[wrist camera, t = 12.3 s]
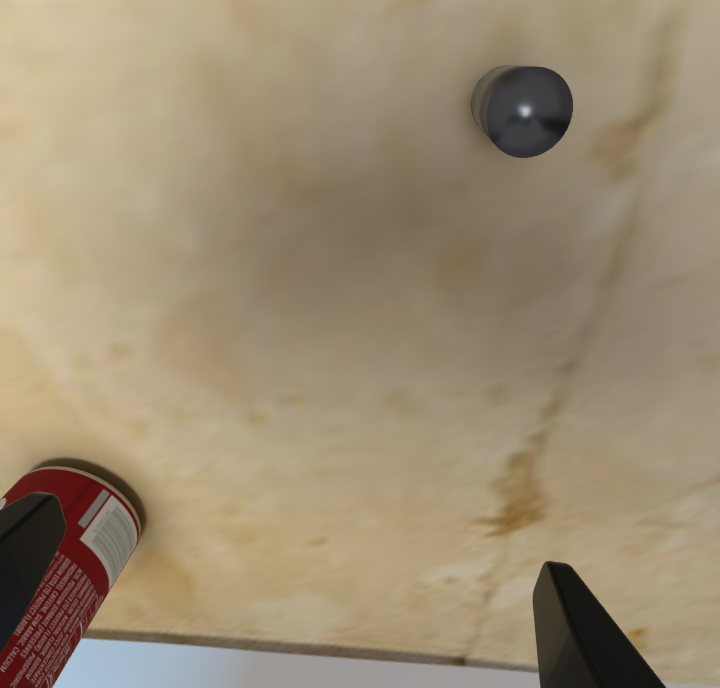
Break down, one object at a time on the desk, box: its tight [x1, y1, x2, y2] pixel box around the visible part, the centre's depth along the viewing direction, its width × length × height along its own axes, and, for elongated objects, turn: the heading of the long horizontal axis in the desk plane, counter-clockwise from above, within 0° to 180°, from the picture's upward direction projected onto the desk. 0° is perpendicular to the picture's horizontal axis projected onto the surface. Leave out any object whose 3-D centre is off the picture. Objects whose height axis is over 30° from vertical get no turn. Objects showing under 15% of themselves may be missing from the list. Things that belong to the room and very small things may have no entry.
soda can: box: [0, 466, 141, 688], centre depth 22 cm, size 7×7×12 cm
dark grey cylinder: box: [471, 66, 573, 158], centre depth 14 cm, size 2×2×4 cm
